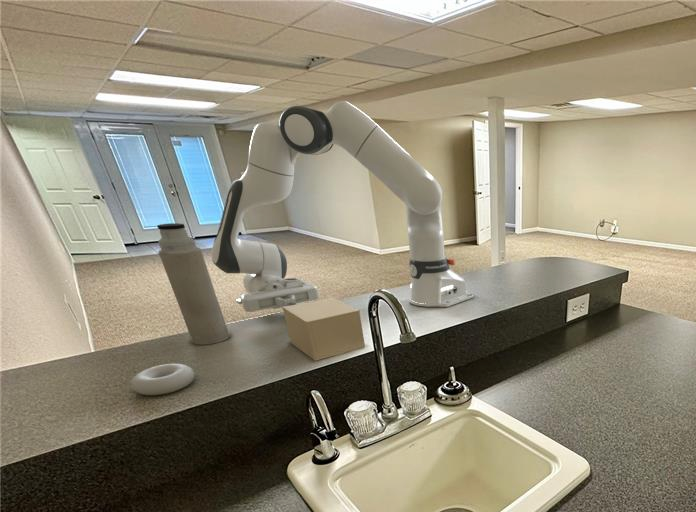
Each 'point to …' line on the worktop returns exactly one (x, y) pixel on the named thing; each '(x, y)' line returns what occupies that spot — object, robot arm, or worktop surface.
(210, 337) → the thermos bottle
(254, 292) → the robot arm
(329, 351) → the tan cardboard box
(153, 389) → the donut
